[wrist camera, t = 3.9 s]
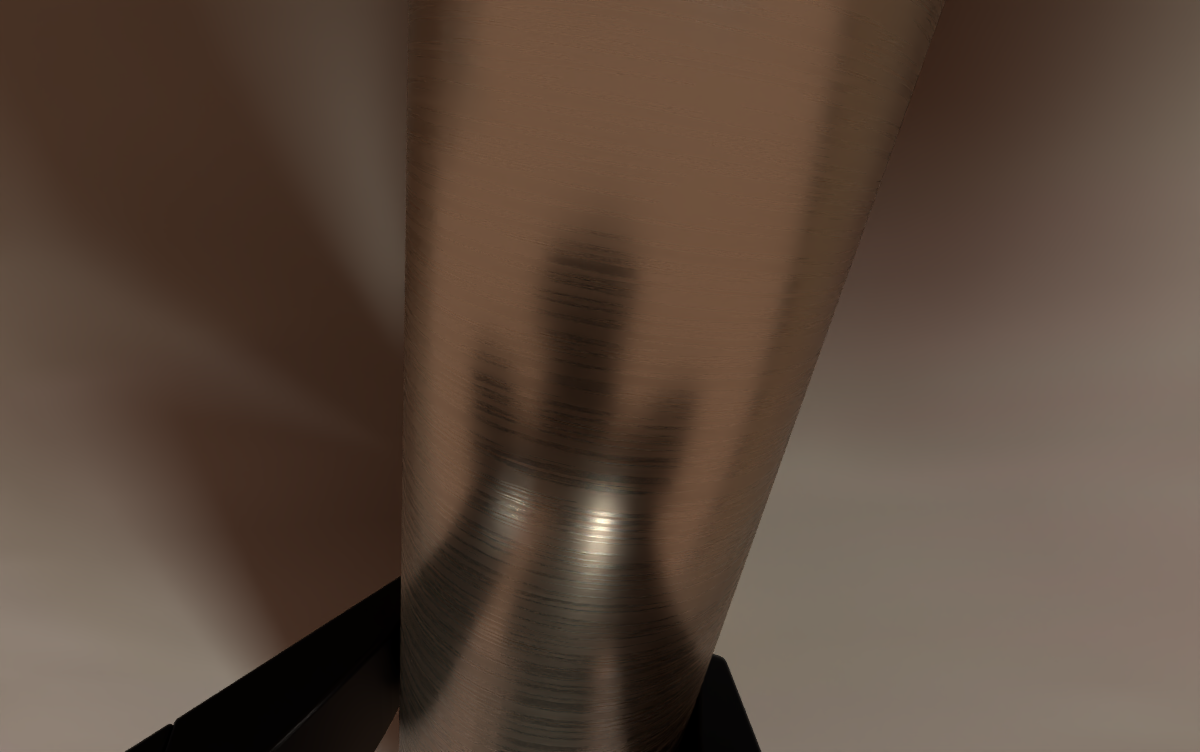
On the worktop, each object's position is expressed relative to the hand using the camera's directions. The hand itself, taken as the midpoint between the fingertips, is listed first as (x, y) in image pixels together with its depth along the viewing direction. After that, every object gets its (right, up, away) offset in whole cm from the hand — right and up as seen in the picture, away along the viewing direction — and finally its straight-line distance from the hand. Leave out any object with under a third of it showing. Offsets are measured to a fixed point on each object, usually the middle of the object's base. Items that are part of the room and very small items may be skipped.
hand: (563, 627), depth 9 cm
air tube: (+1, +5, -1) cm, 5 cm away
